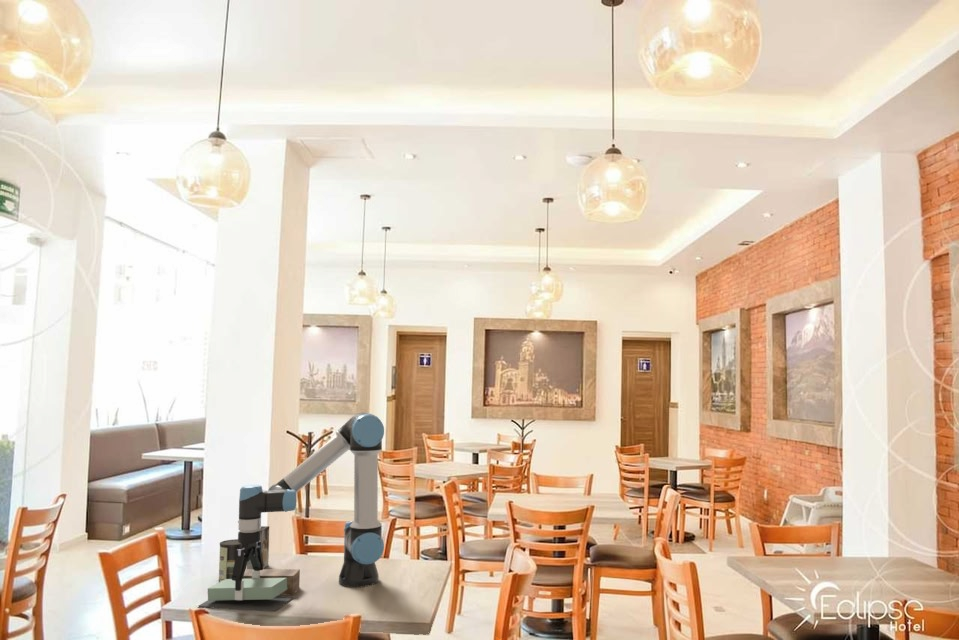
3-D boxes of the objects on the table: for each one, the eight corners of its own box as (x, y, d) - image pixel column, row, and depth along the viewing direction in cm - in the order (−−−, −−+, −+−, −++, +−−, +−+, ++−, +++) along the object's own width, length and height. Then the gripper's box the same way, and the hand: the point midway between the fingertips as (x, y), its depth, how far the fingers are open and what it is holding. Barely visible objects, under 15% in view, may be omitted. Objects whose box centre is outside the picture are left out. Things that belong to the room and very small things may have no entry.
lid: (287, 589, 244) (286, 577, 245) (271, 599, 234) (271, 587, 234) (226, 590, 249) (225, 579, 250) (208, 600, 239) (207, 588, 239)
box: (299, 588, 259) (299, 569, 260) (292, 595, 250) (293, 575, 251) (240, 588, 259) (241, 569, 260) (231, 595, 250) (232, 575, 251)
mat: (294, 598, 247) (294, 596, 247) (275, 611, 232) (275, 610, 232) (220, 594, 251) (220, 592, 251) (197, 607, 236) (198, 605, 236)
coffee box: (253, 564, 292) (254, 525, 293) (268, 565, 292) (269, 526, 293) (246, 570, 283) (247, 530, 284) (261, 570, 283) (262, 530, 284)
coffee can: (251, 576, 275) (252, 539, 276) (237, 583, 265) (238, 545, 266) (227, 574, 277) (229, 538, 278) (212, 581, 267) (214, 544, 268)
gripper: (255, 523, 256) (253, 584, 254) (222, 537, 233) (219, 604, 230) (274, 524, 255) (272, 585, 253) (243, 538, 231) (240, 605, 229)
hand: (247, 594), depth 242 cm, fingers closed on lid, 11 cm apart
